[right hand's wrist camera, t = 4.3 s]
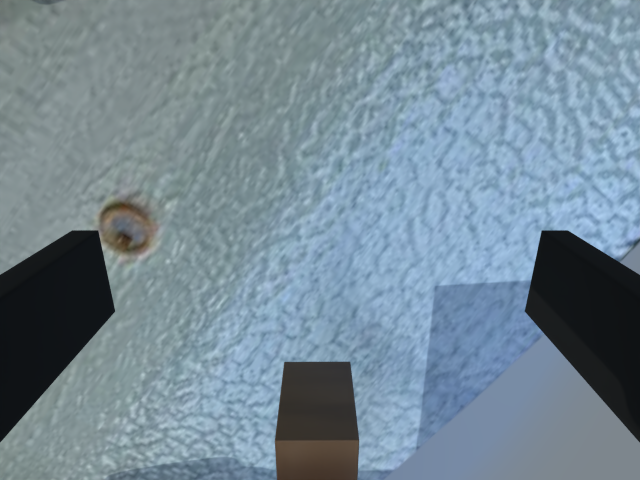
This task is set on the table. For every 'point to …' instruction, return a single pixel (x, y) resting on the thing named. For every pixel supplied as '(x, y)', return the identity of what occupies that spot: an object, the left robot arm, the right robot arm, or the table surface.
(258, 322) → the table surface
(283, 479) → the bar
